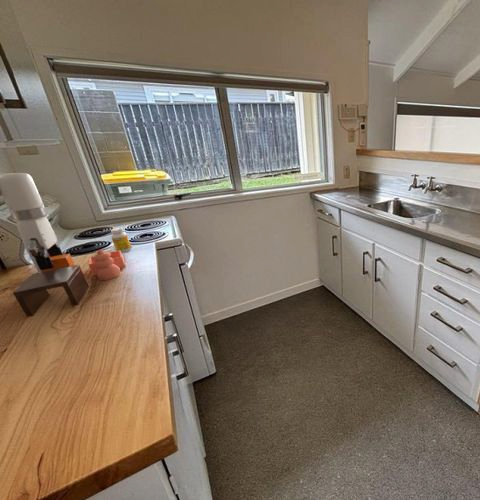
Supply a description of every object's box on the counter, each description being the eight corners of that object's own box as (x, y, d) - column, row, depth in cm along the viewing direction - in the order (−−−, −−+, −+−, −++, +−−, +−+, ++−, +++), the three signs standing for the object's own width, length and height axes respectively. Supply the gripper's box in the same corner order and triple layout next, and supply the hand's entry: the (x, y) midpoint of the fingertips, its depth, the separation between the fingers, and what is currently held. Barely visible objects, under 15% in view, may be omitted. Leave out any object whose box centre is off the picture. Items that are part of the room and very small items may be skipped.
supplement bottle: (117, 253, 120) (109, 232, 116) (116, 250, 124) (107, 229, 120) (132, 249, 123) (125, 228, 119) (131, 246, 127) (123, 226, 123)
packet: (50, 286, 95) (37, 262, 91) (54, 281, 98) (42, 258, 94) (77, 280, 98) (65, 257, 94) (80, 276, 101) (69, 253, 98)
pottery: (93, 266, 108) (83, 243, 104) (124, 259, 114) (115, 236, 110) (92, 284, 95) (80, 257, 91) (126, 275, 101) (116, 249, 97)
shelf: (27, 317, 79) (12, 292, 75) (44, 296, 89) (32, 273, 86) (78, 304, 83) (66, 281, 80) (89, 286, 94) (79, 264, 91)
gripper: (25, 209, 93) (47, 257, 100) (-2, 222, 80) (26, 276, 86) (55, 206, 97) (75, 252, 103) (35, 218, 83) (59, 270, 89)
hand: (52, 263), depth 95 cm, fingers open, 9 cm apart
